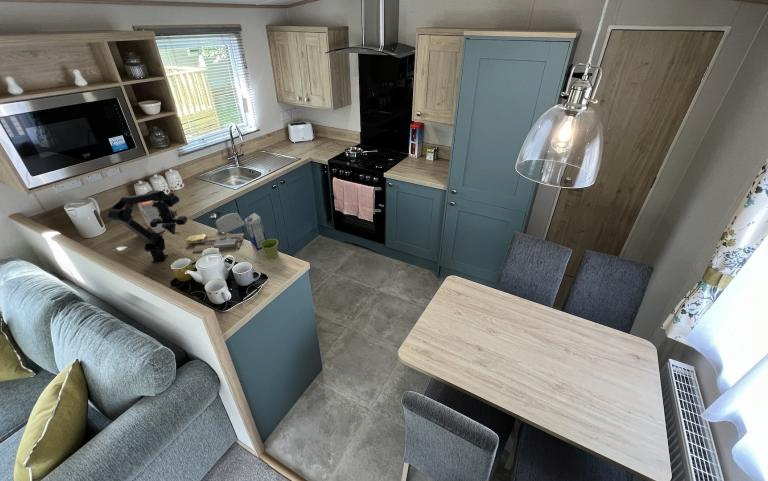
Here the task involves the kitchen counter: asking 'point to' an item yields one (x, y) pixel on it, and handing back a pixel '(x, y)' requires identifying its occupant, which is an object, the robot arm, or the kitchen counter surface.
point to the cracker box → (150, 215)
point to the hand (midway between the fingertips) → (174, 234)
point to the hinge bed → (211, 244)
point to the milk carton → (255, 230)
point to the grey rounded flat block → (229, 222)
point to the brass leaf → (195, 238)
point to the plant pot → (270, 248)
